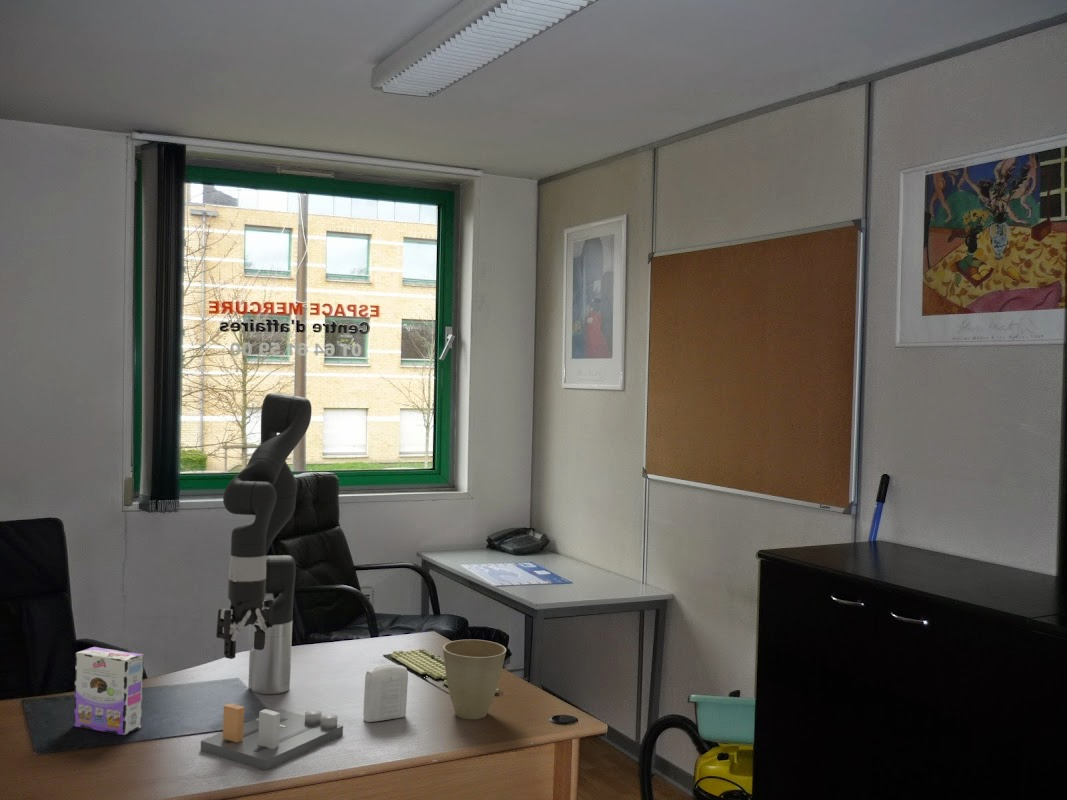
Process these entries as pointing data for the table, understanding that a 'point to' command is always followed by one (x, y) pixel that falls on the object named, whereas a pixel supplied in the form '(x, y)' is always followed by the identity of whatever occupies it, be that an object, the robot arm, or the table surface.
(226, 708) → the fader cap
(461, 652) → the plant pot
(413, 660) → the keyboard
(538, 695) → the table surface
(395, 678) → the photo printer
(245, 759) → the console
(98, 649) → the candy box
